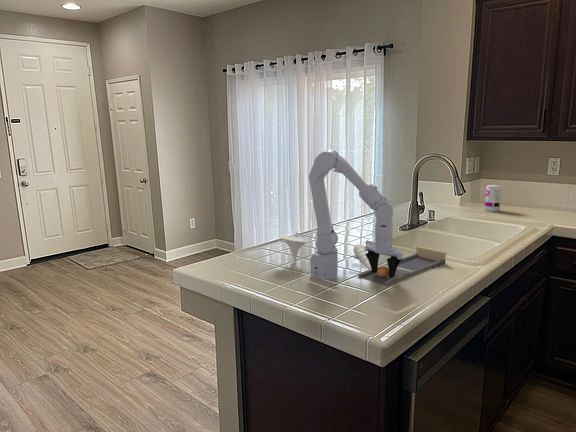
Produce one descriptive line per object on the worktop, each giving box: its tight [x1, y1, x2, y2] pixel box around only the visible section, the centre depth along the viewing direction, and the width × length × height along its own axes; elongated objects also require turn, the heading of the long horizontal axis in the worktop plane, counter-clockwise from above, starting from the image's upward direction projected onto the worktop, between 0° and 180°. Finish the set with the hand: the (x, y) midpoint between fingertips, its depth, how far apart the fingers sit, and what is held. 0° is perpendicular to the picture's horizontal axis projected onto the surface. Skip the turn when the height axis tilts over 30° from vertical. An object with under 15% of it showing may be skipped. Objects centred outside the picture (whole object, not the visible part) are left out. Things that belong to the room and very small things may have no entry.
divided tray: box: [357, 245, 447, 287], centre depth 159 cm, size 36×12×8 cm, turn 130°
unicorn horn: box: [352, 243, 372, 270], centre depth 169 cm, size 5×24×5 cm, turn 0°
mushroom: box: [280, 231, 308, 263], centre depth 172 cm, size 10×11×12 cm
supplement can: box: [483, 184, 502, 213], centre depth 258 cm, size 8×8×15 cm
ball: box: [377, 265, 389, 277], centre depth 151 cm, size 4×4×4 cm
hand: (383, 274), depth 152 cm, fingers open, 7 cm apart
